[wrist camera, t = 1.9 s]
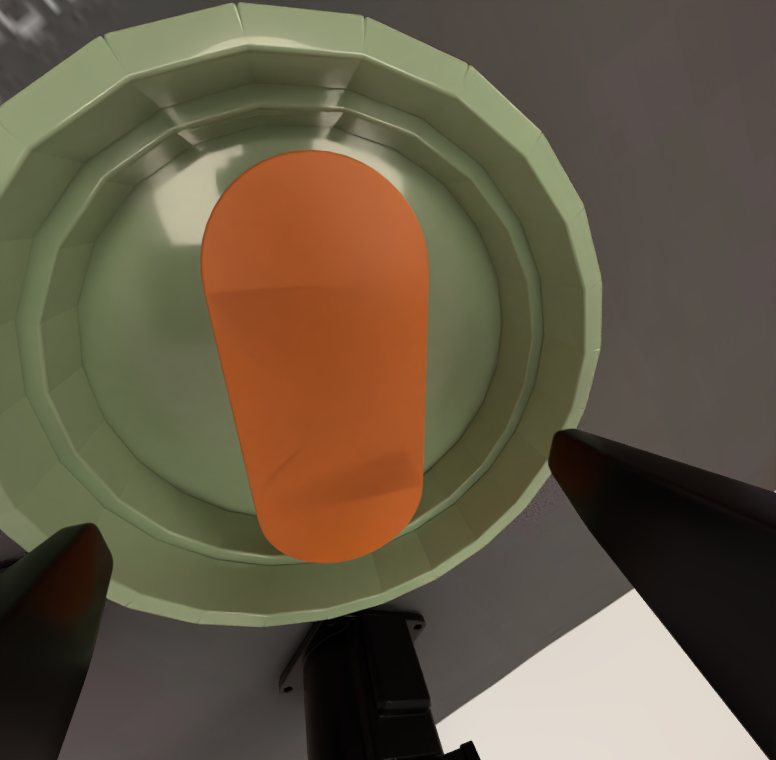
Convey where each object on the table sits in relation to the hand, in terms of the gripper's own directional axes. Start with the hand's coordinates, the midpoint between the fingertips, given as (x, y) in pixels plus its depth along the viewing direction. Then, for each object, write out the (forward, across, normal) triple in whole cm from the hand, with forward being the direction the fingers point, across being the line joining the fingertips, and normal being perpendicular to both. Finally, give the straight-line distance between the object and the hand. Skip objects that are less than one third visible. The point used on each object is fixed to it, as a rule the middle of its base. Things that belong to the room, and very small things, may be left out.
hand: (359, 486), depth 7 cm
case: (+6, 0, 0) cm, 6 cm away
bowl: (+7, 0, 0) cm, 7 cm away
